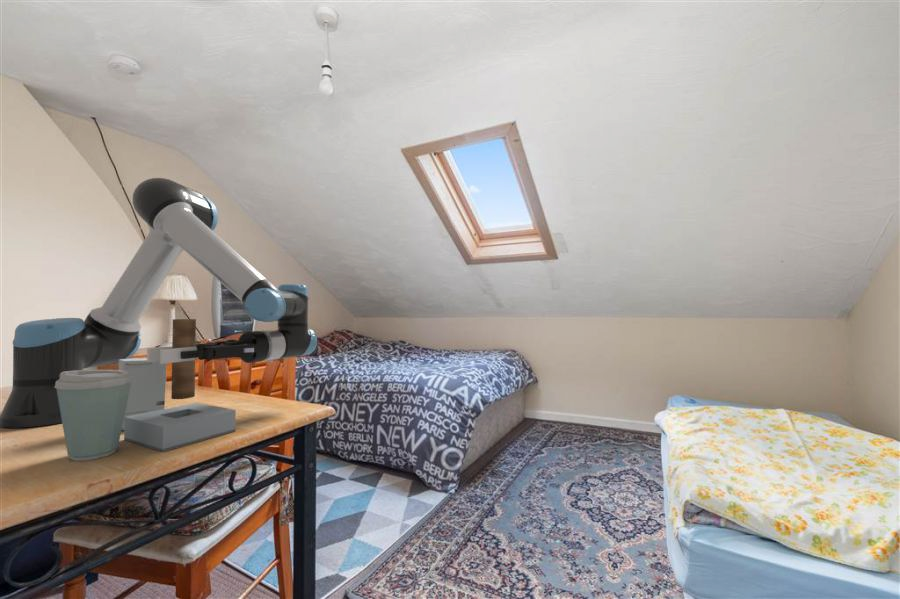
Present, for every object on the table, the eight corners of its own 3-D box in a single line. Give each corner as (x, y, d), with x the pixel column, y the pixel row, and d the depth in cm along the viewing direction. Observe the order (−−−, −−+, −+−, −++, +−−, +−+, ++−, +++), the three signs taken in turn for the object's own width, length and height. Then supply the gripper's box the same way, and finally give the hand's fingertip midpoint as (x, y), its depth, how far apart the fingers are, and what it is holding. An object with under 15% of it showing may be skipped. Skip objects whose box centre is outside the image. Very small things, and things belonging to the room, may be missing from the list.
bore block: (124, 439, 79) (124, 417, 80) (196, 422, 92) (196, 402, 92) (162, 451, 73) (163, 427, 73) (235, 431, 85) (235, 410, 85)
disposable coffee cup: (124, 441, 79) (126, 364, 79) (139, 453, 72) (141, 369, 72) (48, 456, 71) (50, 370, 71) (57, 472, 64) (60, 377, 64)
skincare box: (118, 431, 85) (120, 361, 85) (114, 425, 89) (116, 358, 89) (166, 423, 91) (167, 357, 91) (160, 418, 95) (162, 355, 95)
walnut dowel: (167, 398, 82) (168, 319, 82) (187, 394, 85) (188, 319, 86) (178, 400, 80) (179, 319, 80) (198, 396, 83) (199, 319, 84)
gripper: (284, 363, 95) (178, 378, 74) (238, 359, 103) (131, 372, 82) (284, 331, 95) (179, 338, 74) (238, 329, 103) (132, 335, 82)
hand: (154, 355), depth 78 cm, fingers closed on walnut dowel, 4 cm apart
